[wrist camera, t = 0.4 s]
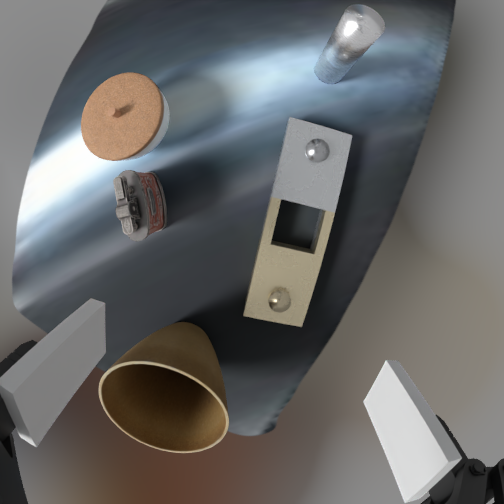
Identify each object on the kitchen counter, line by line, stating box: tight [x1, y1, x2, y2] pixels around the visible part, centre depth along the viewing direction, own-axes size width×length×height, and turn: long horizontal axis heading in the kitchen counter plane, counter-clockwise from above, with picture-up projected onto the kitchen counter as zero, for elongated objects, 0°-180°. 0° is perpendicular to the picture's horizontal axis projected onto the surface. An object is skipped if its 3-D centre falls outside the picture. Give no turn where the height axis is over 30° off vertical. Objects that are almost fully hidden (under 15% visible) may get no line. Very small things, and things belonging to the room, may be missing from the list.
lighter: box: [114, 170, 167, 241], centre depth 32 cm, size 8×3×10 cm, turn 10°
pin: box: [314, 4, 385, 84], centre depth 25 cm, size 4×4×15 cm
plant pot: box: [99, 322, 229, 453], centre depth 34 cm, size 15×15×16 cm
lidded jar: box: [81, 73, 170, 161], centre depth 30 cm, size 11×11×9 cm
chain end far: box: [243, 197, 335, 327], centre depth 36 cm, size 16×8×4 cm, turn 167°
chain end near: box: [260, 117, 352, 251], centre depth 34 cm, size 16×8×4 cm, turn 167°
